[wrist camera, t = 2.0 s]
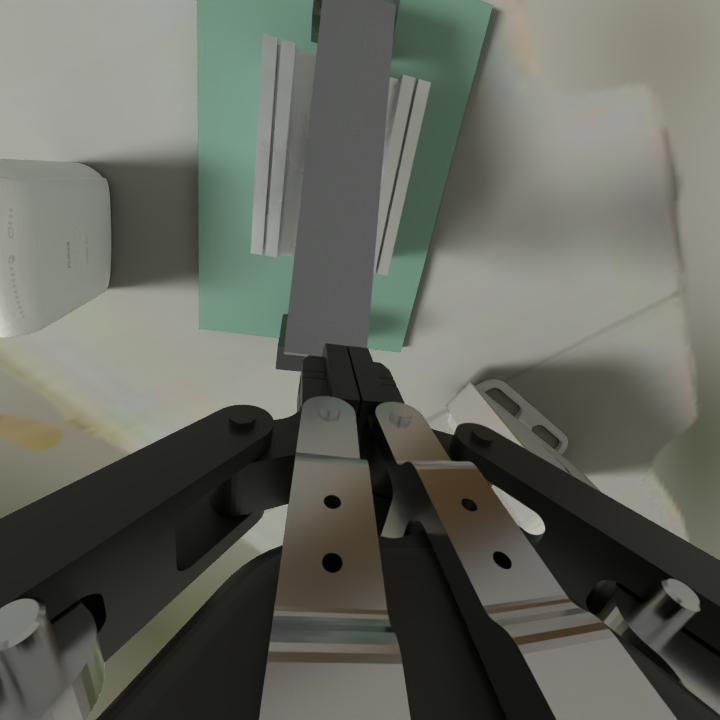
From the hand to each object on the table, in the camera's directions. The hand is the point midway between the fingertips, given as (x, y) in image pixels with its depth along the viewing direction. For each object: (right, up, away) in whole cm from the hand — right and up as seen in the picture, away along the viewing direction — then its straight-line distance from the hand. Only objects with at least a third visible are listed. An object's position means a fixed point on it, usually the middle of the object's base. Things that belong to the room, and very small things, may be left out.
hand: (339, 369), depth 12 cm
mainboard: (-2, +15, +18) cm, 24 cm away
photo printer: (-22, +11, +17) cm, 30 cm away
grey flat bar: (0, +11, +7) cm, 13 cm away
